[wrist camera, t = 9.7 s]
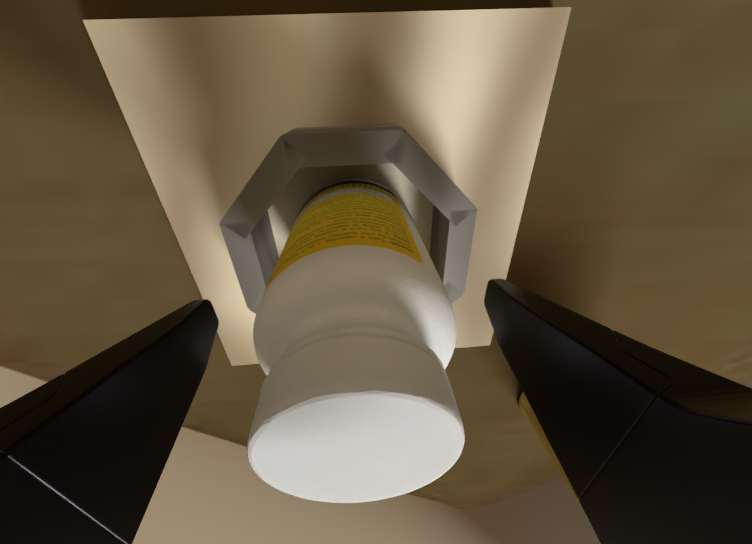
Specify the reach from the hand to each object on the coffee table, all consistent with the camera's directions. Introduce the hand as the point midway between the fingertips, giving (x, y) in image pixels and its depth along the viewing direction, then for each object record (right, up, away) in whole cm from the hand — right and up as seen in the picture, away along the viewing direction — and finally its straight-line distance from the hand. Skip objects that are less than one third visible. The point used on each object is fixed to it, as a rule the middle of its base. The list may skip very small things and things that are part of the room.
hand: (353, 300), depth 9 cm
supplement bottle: (0, +3, +4) cm, 5 cm away
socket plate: (0, +3, +5) cm, 6 cm away
